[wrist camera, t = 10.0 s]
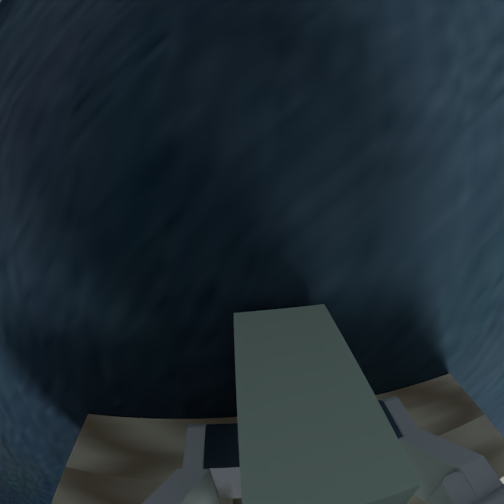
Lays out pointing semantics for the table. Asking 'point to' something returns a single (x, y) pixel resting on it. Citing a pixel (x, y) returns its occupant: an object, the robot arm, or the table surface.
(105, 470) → the birch bridge block
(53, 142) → the table surface
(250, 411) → the green rectangular block
